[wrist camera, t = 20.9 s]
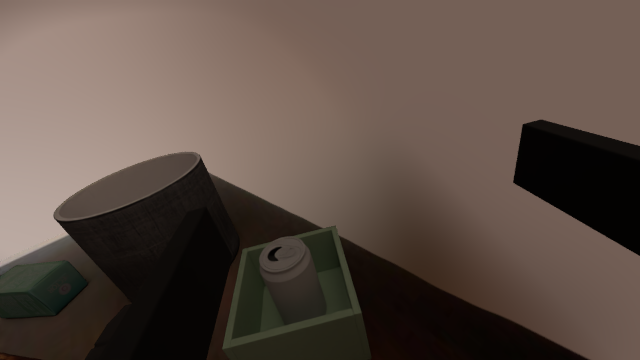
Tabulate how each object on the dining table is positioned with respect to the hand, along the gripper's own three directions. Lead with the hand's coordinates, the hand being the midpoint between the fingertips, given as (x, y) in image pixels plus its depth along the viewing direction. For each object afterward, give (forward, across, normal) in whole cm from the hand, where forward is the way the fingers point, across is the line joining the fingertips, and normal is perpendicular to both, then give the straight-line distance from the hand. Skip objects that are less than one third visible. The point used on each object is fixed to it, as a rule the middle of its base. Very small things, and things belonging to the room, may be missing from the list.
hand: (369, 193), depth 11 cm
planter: (+33, -32, -28) cm, 54 cm away
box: (+32, -62, -28) cm, 75 cm away
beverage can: (+14, -8, -27) cm, 32 cm away
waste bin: (+14, -8, -28) cm, 32 cm away
